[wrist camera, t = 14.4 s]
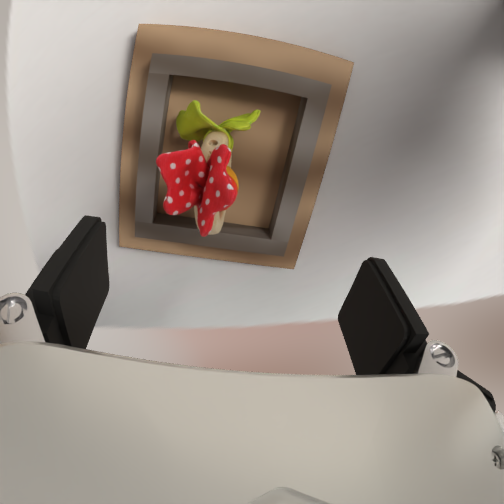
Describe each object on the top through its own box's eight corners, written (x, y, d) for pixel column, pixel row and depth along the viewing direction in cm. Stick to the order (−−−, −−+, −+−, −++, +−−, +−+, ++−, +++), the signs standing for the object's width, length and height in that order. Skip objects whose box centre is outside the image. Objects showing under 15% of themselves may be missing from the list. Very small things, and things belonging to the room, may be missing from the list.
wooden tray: (143, 26, 20) (131, 20, 17) (347, 62, 22) (363, 62, 19) (123, 238, 30) (113, 258, 27) (291, 260, 33) (297, 281, 30)
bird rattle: (257, 169, 28) (259, 78, 20) (269, 281, 22) (280, 183, 14) (186, 173, 28) (172, 83, 20) (177, 285, 21) (143, 190, 14)
